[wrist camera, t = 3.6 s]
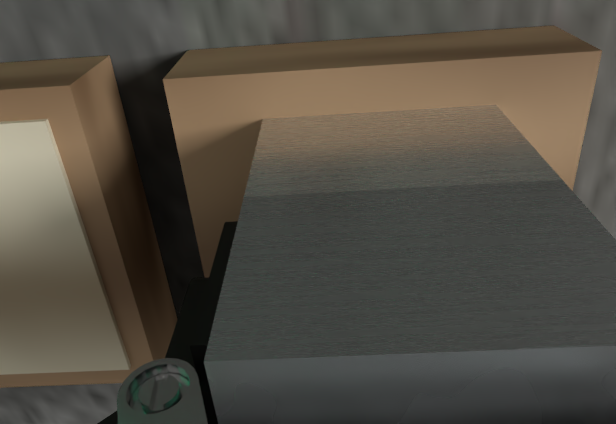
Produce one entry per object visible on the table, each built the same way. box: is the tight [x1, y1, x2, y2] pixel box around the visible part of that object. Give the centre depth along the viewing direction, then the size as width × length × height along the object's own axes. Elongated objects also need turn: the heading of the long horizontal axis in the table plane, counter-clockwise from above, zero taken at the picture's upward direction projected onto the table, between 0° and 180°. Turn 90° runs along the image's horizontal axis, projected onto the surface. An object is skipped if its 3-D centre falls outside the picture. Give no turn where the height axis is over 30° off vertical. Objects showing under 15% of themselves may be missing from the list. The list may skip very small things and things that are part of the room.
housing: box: [204, 105, 616, 424], centre depth 10 cm, size 7×5×7 cm
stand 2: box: [163, 26, 602, 278], centre depth 14 cm, size 9×9×2 cm
